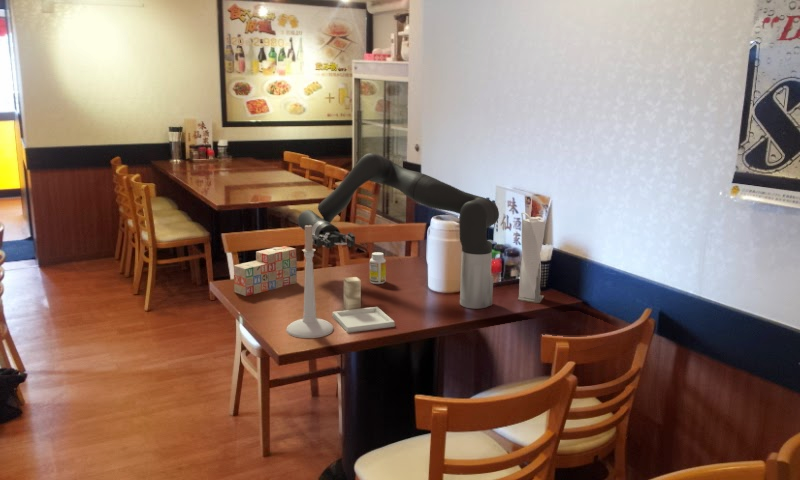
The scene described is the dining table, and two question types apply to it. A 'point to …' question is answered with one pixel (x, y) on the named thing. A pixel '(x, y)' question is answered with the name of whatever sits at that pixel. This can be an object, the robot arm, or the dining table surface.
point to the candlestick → (309, 300)
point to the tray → (363, 319)
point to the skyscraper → (531, 259)
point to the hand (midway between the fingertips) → (340, 244)
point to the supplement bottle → (377, 268)
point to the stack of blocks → (266, 271)
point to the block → (352, 293)
